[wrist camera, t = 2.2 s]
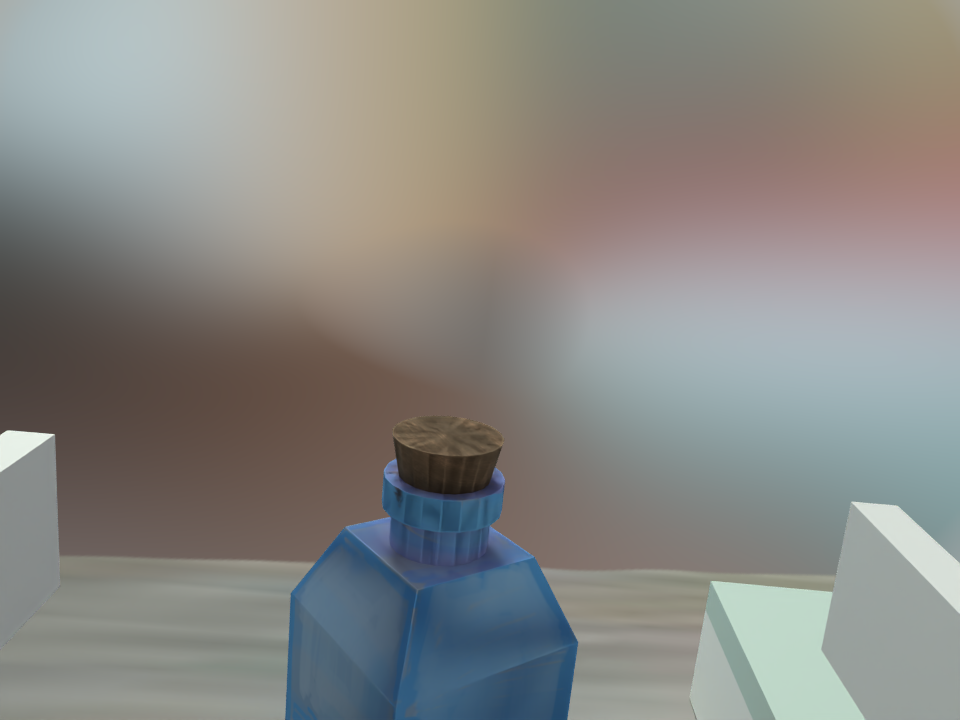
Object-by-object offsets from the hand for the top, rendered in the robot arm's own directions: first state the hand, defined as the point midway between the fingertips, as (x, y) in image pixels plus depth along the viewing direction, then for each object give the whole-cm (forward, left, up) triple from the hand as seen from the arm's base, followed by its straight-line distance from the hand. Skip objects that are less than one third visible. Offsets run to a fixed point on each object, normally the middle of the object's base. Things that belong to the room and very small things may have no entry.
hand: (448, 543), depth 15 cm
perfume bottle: (0, +10, -14) cm, 17 cm away
